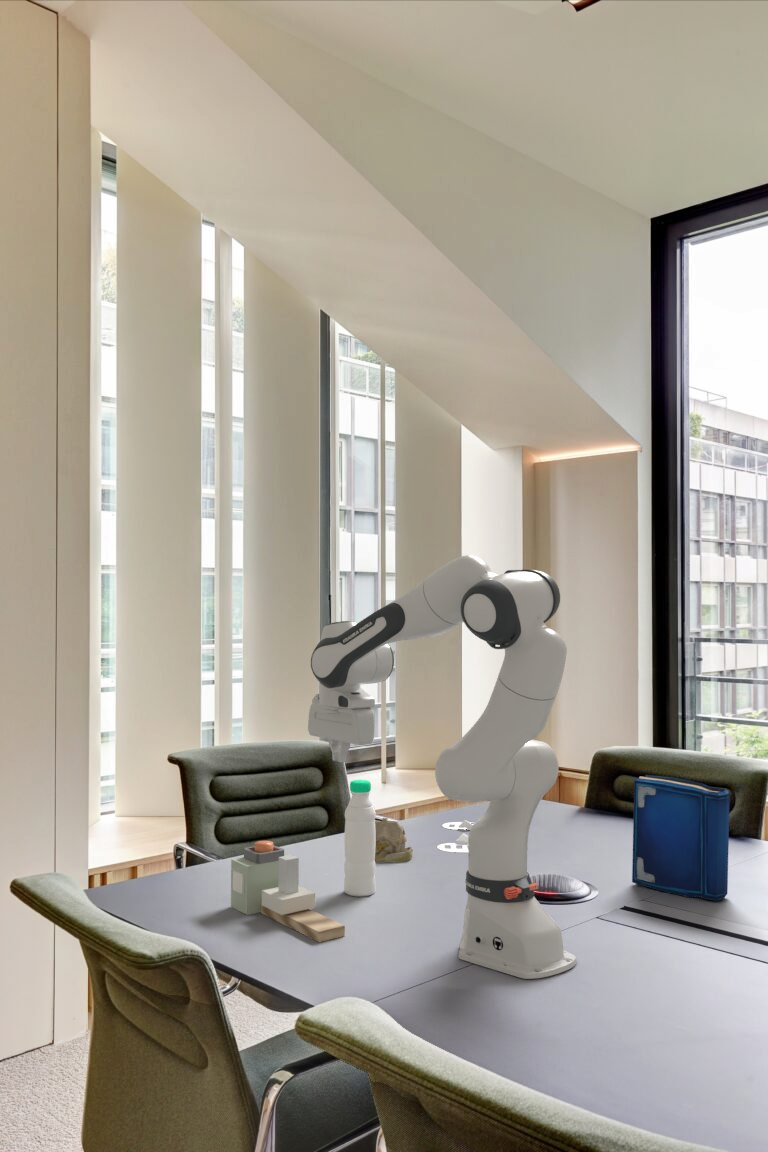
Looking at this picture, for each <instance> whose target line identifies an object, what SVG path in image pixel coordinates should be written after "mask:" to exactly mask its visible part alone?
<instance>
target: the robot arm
mask: <svg viewBox="0 0 768 1152" xmlns="http://www.w3.org/2000/svg"><path fill="white" fill-rule="evenodd" d="M560 604H561V593H560V589H559V586H558V583H557V582H556V580H555V579H553V577H551V575H549V574H548V573H547V572H544V571H540V570H537V569H536V570H535V569H511V570H510V569H509V570H506V571H505V572H503V573H502V574H497V573H495V572H494V571H493V570H492V569H491V568H490V566H489V565H488V563H487V562H485V561H484V560H483V559H481V558H480V557H479V556H475V555H471V554H467V555H462V556H461V555H460V557H457V558H455V559H453V560H451V561H449V562H447V563H446V564H444V565H442V566H441V567H439V568H438V569H436V570H435V571H433V572H432V573H431V574H429V575H428V576H427V577H426V578H424V579H423V580H422V581H420V582H419V583H418V584H416V586H414V587H413V588H412V589H410V590H409V591H407V592H406V593H404V594H403V595H401V596H399V597H397V598H396V599H394V600H393V601H391V602H390V603H388V604H386V605H384V606H383V607H382V608H380V609H377V610H375V611H374V612H372V613H371V614H370V615H368V616H367V617H365V618H363V619H362V620H361V621H359V622H358V623H357V622H356V621H352V620H343V621H334V622H331V623H327V624H326V625H325V626H323V628H322V632H321V637H320V641H319V642H318V644H317V645H316V646H315V647H314V649H313V652H312V654H311V656H310V668H311V672H312V674H313V676H314V677H315V678H316V680H317V681H318V682H319V693H316V694H315V695H314V696H313V698H312V700H311V704H310V705H309V706H310V707H309V713H308V719H307V720H308V722H307V723H308V724H307V731H308V733H309V735H310V736H313V737H317V738H322V739H326V740H327V739H328V746H329V748H330V750H331V753H332V755H331V756H332V761H334V762H339V763H346V762H347V760H348V759H347V758H348V757H347V755H348V752H349V750H350V748H351V744H352V745H357V746H365V745H371V744H372V743H373V741H374V739H375V713H374V711H373V708H374V707H375V703H376V702H375V697H373V696H372V695H370V694H369V693H368V692H367V691H365V690H364V689H363V688H361V685H369V684H370V685H371V684H377V683H382V682H384V681H386V680H388V678H389V677H390V676H391V674H392V672H393V670H394V665H395V656H394V653H393V649H392V647H391V646H390V644H392V643H395V642H401V641H409V640H410V641H411V640H419V639H422V640H423V639H431V638H436V637H439V636H441V635H444V634H446V633H449V632H451V631H452V630H455V629H456V628H457V627H459V626H460V625H461V624H463V623H464V625H465V627H466V628H467V629H468V630H469V631H470V632H471V634H473V635H474V636H475V637H477V638H479V639H480V640H483V641H484V642H486V643H487V644H488V646H490V648H492V649H494V650H504V656H503V657H504V658H503V661H502V663H501V664H502V665H501V667H500V668H499V669H500V670H499V673H498V675H497V678H496V681H495V685H494V687H493V690H492V692H491V694H490V697H489V700H488V703H487V705H486V707H485V709H484V711H483V712H482V714H481V716H479V718H478V719H477V721H476V722H475V723H474V724H473V725H472V727H471V728H470V729H469V730H468V731H467V732H466V733H465V734H464V735H463V736H462V737H461V738H459V739H458V740H457V741H456V742H455V743H453V744H452V745H450V746H449V747H447V748H444V749H443V750H442V751H441V753H440V754H439V756H438V758H437V759H436V763H435V768H434V777H435V780H436V781H435V782H436V785H437V786H438V788H439V790H440V792H441V793H442V794H443V796H444V797H446V798H447V799H449V800H451V801H459V802H465V803H479V802H487V801H489V805H488V807H487V808H486V811H485V812H484V813H483V815H482V816H480V818H479V819H477V820H476V821H475V822H473V823H474V824H473V826H472V827H471V829H470V831H469V832H468V835H467V836H468V846H467V848H468V853H467V854H468V855H467V856H468V857H467V858H468V869H467V871H466V873H465V881H464V882H465V891H466V893H467V900H466V905H465V910H464V919H463V926H462V935H461V939H460V942H459V950H458V959H460V960H462V961H465V962H468V963H472V964H474V965H478V966H481V967H485V968H488V969H491V970H493V971H498V972H501V973H504V974H507V975H511V976H514V977H517V978H520V979H523V980H526V979H527V980H531V979H532V980H533V979H541V978H547V977H551V976H554V975H557V974H561V973H563V972H567V971H568V970H570V969H573V968H574V967H575V966H576V965H577V964H578V963H577V962H578V961H577V956H576V955H574V954H573V953H570V952H569V951H567V950H565V949H564V941H563V940H564V939H563V934H562V930H561V927H560V926H559V925H558V923H557V922H556V921H555V920H554V919H553V918H552V917H551V915H550V914H549V913H548V911H547V910H546V909H545V908H544V907H543V906H542V905H541V903H540V902H539V900H537V898H536V897H535V890H538V889H539V887H537V886H538V885H539V882H534V883H533V882H532V879H531V877H530V874H529V873H528V846H529V845H528V844H529V833H530V828H531V824H532V821H533V818H534V815H535V812H536V810H537V808H538V806H539V804H540V802H541V801H542V799H543V797H544V796H545V795H546V794H547V792H549V791H550V789H552V787H553V786H554V785H555V784H556V782H557V780H558V775H559V769H560V768H559V761H558V757H557V754H556V753H555V751H554V749H553V748H552V747H551V746H550V745H549V743H547V742H545V741H541V740H537V739H536V738H537V737H538V736H539V735H540V734H541V733H542V732H543V731H544V729H545V728H546V725H547V723H548V721H549V718H550V717H549V716H550V715H551V712H552V709H553V706H554V703H555V701H556V697H557V695H558V692H559V690H560V686H561V683H562V680H563V676H564V675H563V674H564V671H565V665H566V659H567V654H568V653H567V651H568V647H567V644H566V641H565V640H564V638H563V637H562V635H560V634H559V633H558V632H557V631H556V630H554V629H552V628H550V627H548V626H547V625H546V624H545V623H547V622H548V621H549V620H550V619H552V617H553V616H555V614H556V613H557V611H558V609H559V608H560Z"/></svg>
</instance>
